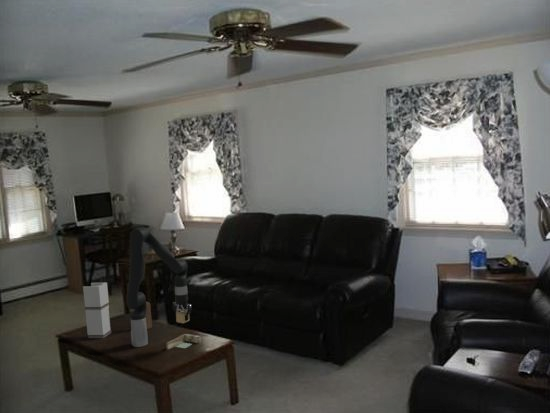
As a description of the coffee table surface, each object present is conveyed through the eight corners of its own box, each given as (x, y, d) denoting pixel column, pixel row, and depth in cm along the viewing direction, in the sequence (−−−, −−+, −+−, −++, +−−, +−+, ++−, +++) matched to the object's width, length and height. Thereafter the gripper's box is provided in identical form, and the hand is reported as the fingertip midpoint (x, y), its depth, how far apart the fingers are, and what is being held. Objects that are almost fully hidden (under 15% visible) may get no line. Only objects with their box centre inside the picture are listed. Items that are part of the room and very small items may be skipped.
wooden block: (140, 331, 336) (138, 305, 334) (137, 329, 339) (135, 304, 338) (152, 327, 342) (150, 302, 340) (149, 326, 345) (147, 301, 344)
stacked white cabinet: (111, 332, 337) (106, 282, 334) (103, 338, 327) (98, 286, 324) (96, 332, 339) (91, 282, 336) (87, 338, 329) (82, 286, 326)
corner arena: (166, 349, 299) (166, 343, 298) (185, 339, 313) (184, 333, 313) (183, 352, 292) (182, 345, 292) (201, 342, 307) (200, 336, 306)
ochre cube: (176, 322, 299) (176, 313, 299) (182, 319, 304) (182, 310, 303) (183, 323, 296) (182, 314, 296) (189, 320, 301) (188, 311, 301)
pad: (175, 346, 302) (175, 346, 302) (183, 342, 308) (183, 342, 308) (184, 348, 298) (184, 348, 298) (192, 344, 305) (192, 343, 305)
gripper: (168, 293, 299) (169, 320, 301) (186, 295, 292) (187, 323, 293) (176, 290, 305) (178, 316, 307) (194, 292, 298) (196, 319, 300)
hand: (182, 319), depth 300 cm, fingers closed on ochre cube, 5 cm apart
